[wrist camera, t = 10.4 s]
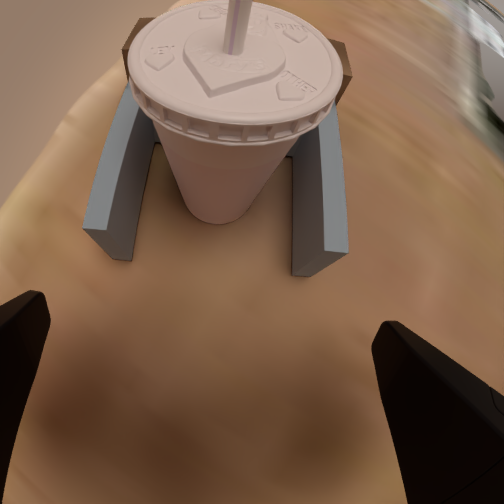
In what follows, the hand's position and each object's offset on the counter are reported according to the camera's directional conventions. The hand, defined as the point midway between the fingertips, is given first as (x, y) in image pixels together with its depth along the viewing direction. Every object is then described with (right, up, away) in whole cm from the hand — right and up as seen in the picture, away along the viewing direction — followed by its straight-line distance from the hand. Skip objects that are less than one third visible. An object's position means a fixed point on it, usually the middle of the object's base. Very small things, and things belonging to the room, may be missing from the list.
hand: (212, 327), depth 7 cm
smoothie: (-1, +5, +9) cm, 11 cm away
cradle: (-1, +4, +9) cm, 10 cm away
